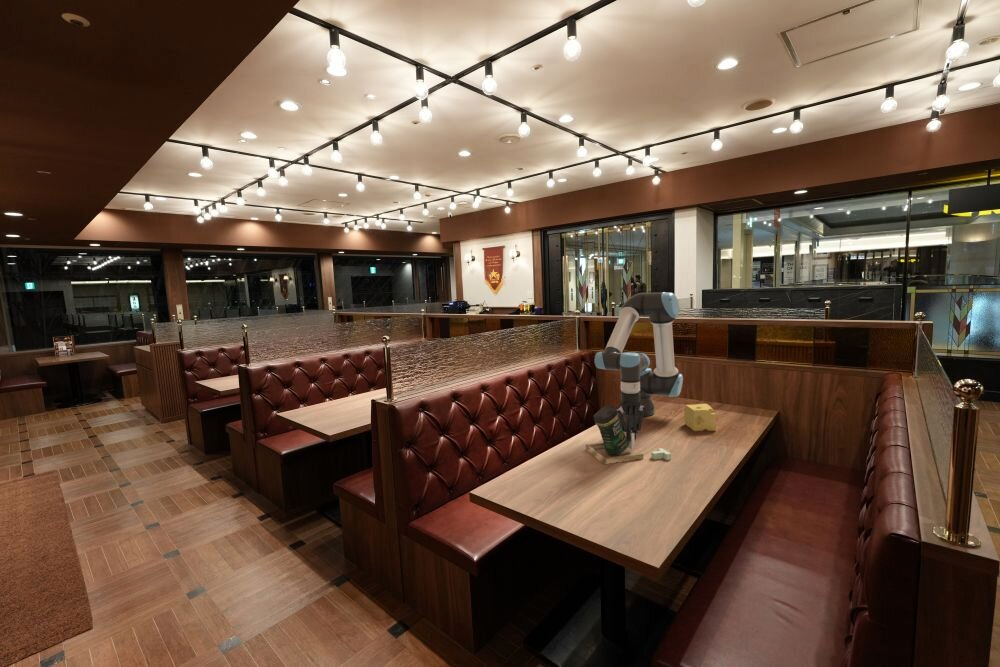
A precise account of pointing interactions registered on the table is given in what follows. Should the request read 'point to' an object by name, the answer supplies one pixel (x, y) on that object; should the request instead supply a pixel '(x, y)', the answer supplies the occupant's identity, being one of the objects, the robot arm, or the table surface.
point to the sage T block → (661, 454)
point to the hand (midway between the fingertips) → (631, 447)
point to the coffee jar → (611, 430)
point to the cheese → (700, 417)
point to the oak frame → (612, 459)
